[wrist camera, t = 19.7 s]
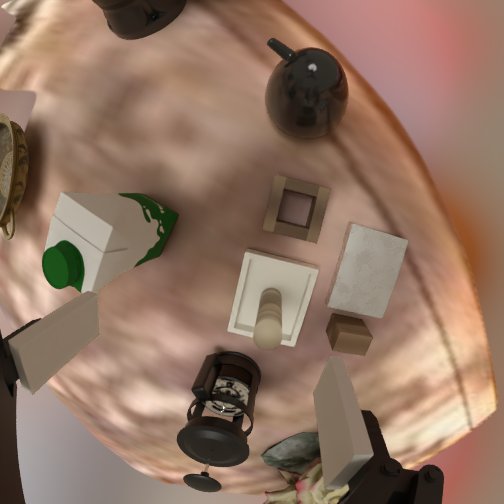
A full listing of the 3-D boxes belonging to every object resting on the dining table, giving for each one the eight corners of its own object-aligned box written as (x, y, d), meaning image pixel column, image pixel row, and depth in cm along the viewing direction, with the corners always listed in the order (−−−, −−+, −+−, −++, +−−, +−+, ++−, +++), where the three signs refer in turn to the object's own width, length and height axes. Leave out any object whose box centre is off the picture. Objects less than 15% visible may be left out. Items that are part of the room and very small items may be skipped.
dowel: (263, 285, 39) (256, 321, 27) (283, 290, 39) (285, 328, 27) (258, 304, 40) (250, 346, 28) (278, 309, 39) (277, 352, 28)
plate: (348, 221, 37) (352, 223, 35) (401, 238, 37) (408, 240, 34) (324, 300, 40) (327, 306, 37) (376, 311, 39) (382, 318, 37)
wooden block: (332, 313, 39) (340, 331, 34) (361, 319, 39) (373, 337, 33) (326, 330, 40) (332, 350, 34) (355, 336, 40) (364, 355, 34)
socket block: (275, 176, 37) (275, 174, 33) (325, 189, 36) (330, 188, 32) (263, 226, 38) (262, 229, 34) (312, 238, 38) (316, 243, 34)
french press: (270, 389, 43) (261, 503, 21) (222, 401, 45) (191, 505, 22) (242, 335, 41) (210, 451, 19) (191, 351, 43) (133, 453, 20)
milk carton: (118, 236, 40) (25, 265, 21) (140, 184, 38) (45, 181, 19) (162, 264, 40) (81, 315, 21) (187, 211, 39) (107, 226, 19)
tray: (247, 248, 39) (245, 251, 36) (316, 265, 38) (318, 269, 36) (230, 323, 41) (227, 331, 39) (293, 338, 41) (294, 346, 38)
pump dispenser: (292, 66, 33) (298, 6, 18) (351, 107, 34) (388, 62, 19) (250, 115, 35) (234, 68, 20) (311, 158, 36) (333, 133, 21)
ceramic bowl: (68, 200, 40) (28, 203, 30) (14, 259, 44) (-17, 270, 34) (35, 89, 36) (4, 79, 27) (-13, 156, 41) (-41, 156, 31)
